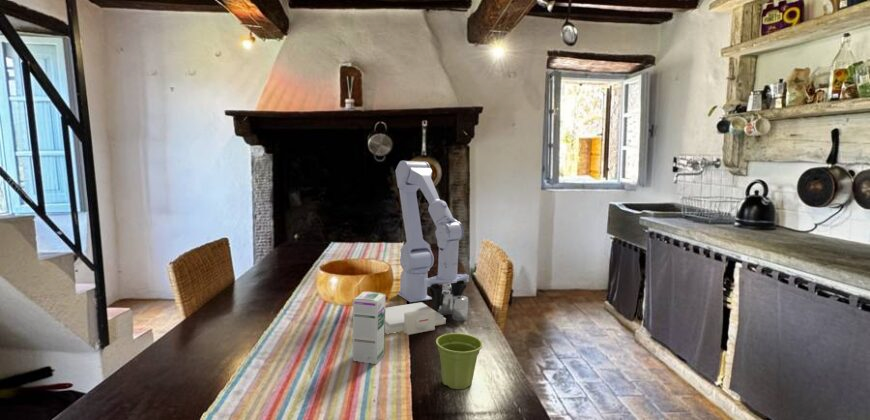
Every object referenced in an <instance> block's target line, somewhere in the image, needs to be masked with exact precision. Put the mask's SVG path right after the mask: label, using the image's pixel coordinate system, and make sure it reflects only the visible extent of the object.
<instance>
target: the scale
mask: <svg viewBox="0 0 870 420" xmlns="http://www.w3.org/2000/svg"><path fill="white" fill-rule="evenodd" d="M446 320H447V318H446V317H444V314H440V313H439V312H438V310H437V311H436V309H434V308H432V307H430V306H428V305H427V304H425V303H424V302H422V301H419V302H412V303H409V304H402V305H394V306H388V307H385V333H386V334H387V335H390V334H389V333H393V334H395V333H394V332H398V333H401V332H400V331H403V332H404V333H405V334H406V333H407V334H406V335H408V336H410V335H414V334H419V333H420V334H421V333H423V332H429V331H435V330H436V327H435V326H441V325H446V324H447V323H446ZM386 334H385V335H386Z"/></svg>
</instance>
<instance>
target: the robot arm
mask: <svg viewBox="0 0 870 420" xmlns="http://www.w3.org/2000/svg"><path fill="white" fill-rule="evenodd" d="M432 175H433V170H432V168H431V166H430V163H429V162H427V161H425V160H423V161H417V160H416V161H415V160H414V161H412V160H400V161H399V163H398V164H397V166H396V169H395V177H396V178H395V179H396V185H397V188H398V189H399V191H398V192H399V197H400V204H401V212H402V217H403V225H404V231H405V238H406V239H405V240H406V242H405V243H404V244H403V245H402V247H400V249H399V250H400V257H399V262H400V263H399V264H400V266H401V268H402V271H401V273H400V281H399V282H400V283H399V292H397V293H396V294H397V295H398V296H399V297H401V298H403V299H405V300H406V301H408V302H409V303H418V302H422V301H423V302H424V301H429V300H432V305H433V309H434V310H435V311H436V310H437V311H438V310H439V308H440V298H441V293H442V290H443V289H442V288H441V286H440V285H443V284H448V283H451V287H452V291H453V292H454V296H463V295H462V294H463V293H464V291H465V289H467V283H469V282H470V275H469V274H467V273H464V274H463V273H458V262H459V248H460V247H459V242H460V240H462V239H463V237H464V226H463V223H461V221H458V220H457V219H456V218H454V217H453V214H452V212H451V211H450V208H449V207H448V204H447V202H446V201H445V200H443V199H440V197H439V194H438V191H437V189H436V187H435V184H434V182H433V179H432ZM419 189H420V191H421V193H422V194H423V196H424V198H425V199H426V200H427V202H428V205H429V206H428V209H427V211H428V213H429V216H430V217H431V219H432V221H433V223H434V226H435V228H436V230H434V231H435V232H434V233H435V238H436V240H437V247H438V261H437V262H438V263H437V275H434V276H432V277H428V274H429V272H430V270H431V268H432V267H433V266H434V262H435V258H434V254H433V252H432V250H431V249H432V248H431V244H430V243H428V242H427V241H426V240H424V237H423V230H422V223H421V216H420V209H419V204H418V198H417V197H418V196H417V191H418V190H419ZM465 282H466V283H465ZM428 291H429V293H430V296H429V295H428Z"/></svg>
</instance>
